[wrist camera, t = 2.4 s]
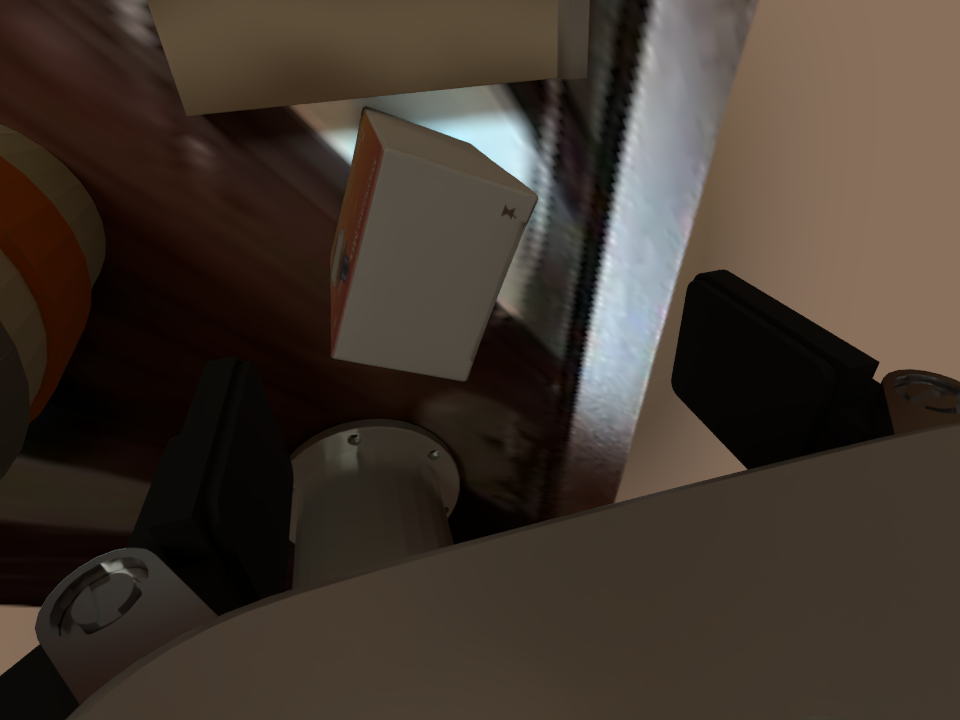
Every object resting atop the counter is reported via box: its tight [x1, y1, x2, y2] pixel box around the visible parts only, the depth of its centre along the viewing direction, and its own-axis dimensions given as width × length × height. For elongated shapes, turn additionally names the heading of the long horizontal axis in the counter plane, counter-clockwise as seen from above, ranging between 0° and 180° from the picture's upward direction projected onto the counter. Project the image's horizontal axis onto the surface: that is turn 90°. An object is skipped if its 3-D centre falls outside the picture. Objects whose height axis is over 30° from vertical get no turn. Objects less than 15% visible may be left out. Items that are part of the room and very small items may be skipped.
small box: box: [330, 106, 538, 381], centre depth 22 cm, size 8×6×10 cm
